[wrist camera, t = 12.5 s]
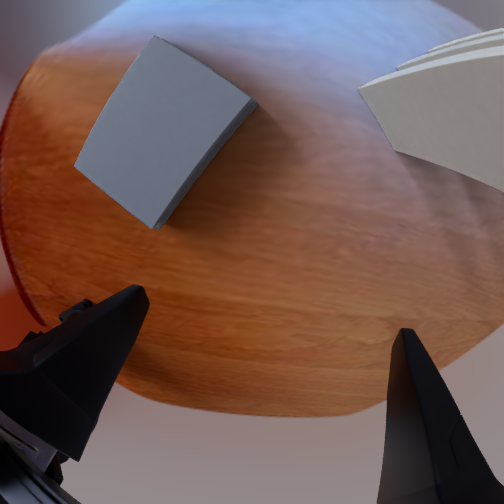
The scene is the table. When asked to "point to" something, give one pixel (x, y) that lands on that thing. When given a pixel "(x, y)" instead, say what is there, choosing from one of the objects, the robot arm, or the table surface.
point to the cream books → (459, 47)
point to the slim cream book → (447, 112)
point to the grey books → (161, 131)
